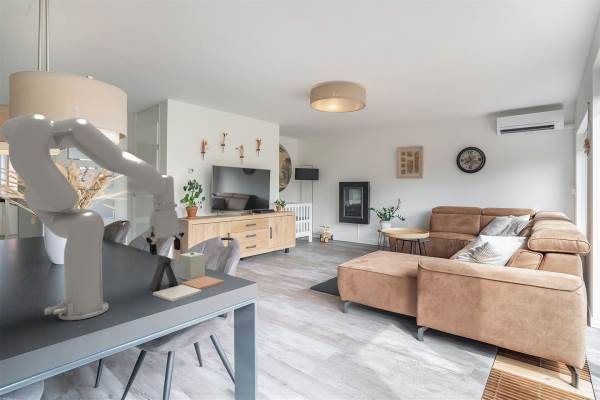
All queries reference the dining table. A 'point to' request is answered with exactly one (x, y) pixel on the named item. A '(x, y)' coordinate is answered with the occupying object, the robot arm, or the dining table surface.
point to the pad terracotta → (202, 282)
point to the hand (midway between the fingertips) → (165, 252)
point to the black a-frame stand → (159, 275)
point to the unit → (191, 265)
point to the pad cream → (177, 292)
